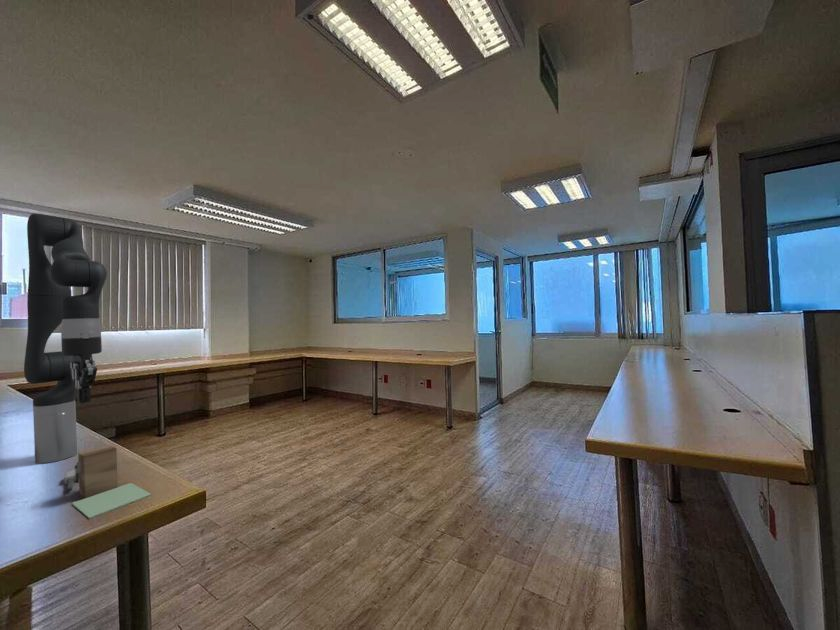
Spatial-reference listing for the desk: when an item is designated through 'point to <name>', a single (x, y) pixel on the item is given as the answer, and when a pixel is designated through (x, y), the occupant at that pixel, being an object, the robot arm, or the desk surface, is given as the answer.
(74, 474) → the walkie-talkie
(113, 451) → the brown teal box
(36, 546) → the desk surface
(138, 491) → the mat
